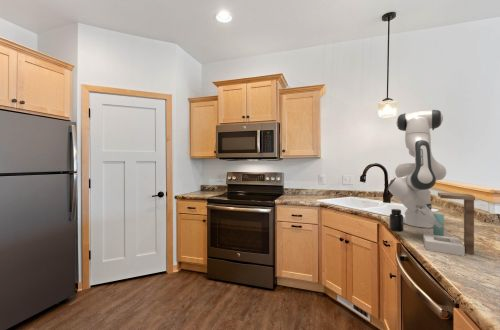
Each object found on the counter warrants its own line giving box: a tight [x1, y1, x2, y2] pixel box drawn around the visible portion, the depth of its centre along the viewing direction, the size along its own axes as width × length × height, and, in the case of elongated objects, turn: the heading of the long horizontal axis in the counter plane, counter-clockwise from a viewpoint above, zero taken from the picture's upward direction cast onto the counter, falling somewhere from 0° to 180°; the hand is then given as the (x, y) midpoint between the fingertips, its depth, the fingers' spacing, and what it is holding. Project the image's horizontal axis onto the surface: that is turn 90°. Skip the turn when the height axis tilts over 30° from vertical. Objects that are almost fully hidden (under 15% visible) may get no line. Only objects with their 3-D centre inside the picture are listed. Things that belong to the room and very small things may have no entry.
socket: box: [422, 233, 466, 257], centre depth 106 cm, size 13×13×4 cm
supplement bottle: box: [389, 208, 405, 233], centre depth 135 cm, size 7×7×12 cm
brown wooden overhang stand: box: [437, 192, 476, 255], centre depth 103 cm, size 10×11×25 cm
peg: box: [432, 213, 445, 236], centre depth 116 cm, size 4×4×12 cm
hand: (440, 225), depth 116 cm, fingers closed on peg, 4 cm apart
